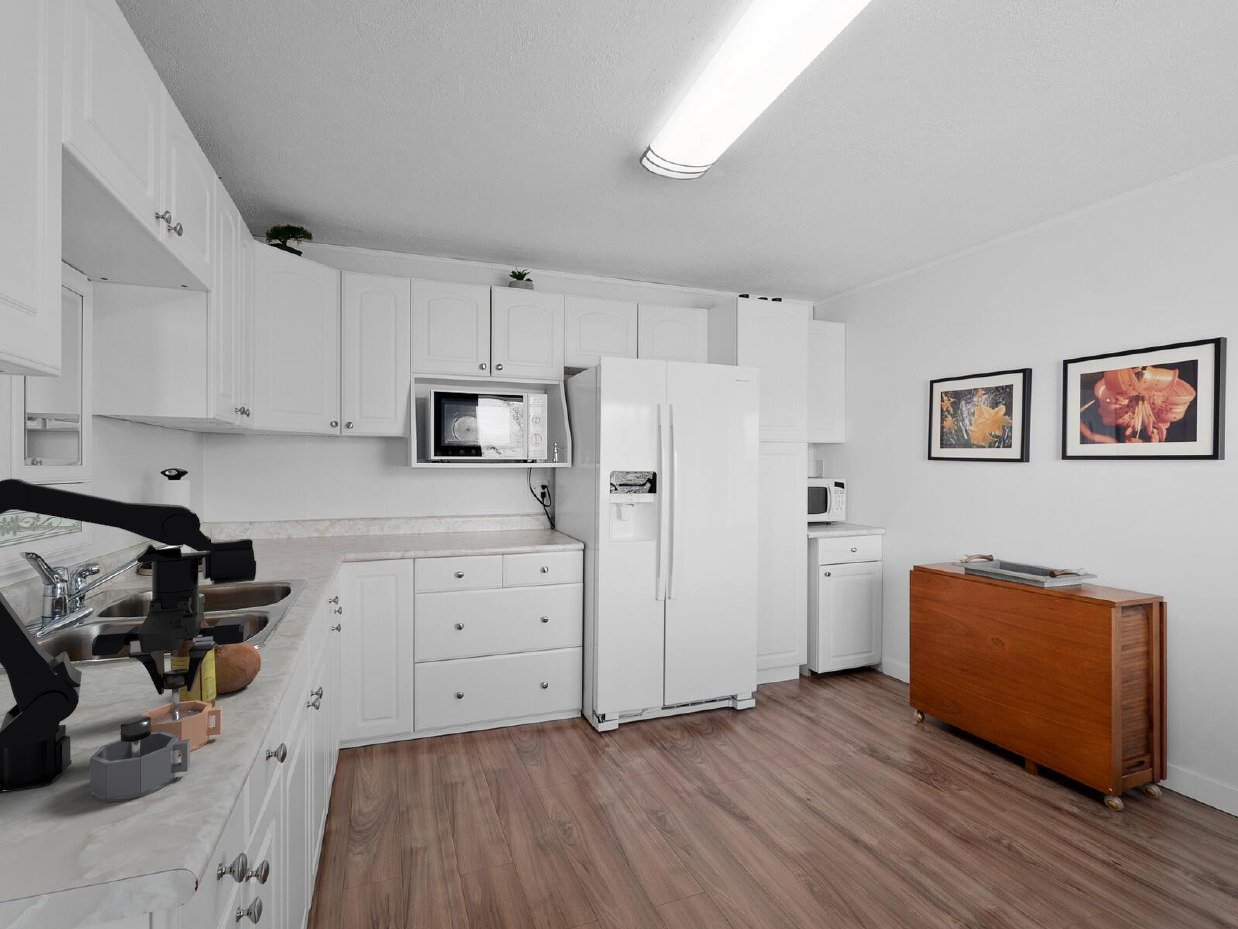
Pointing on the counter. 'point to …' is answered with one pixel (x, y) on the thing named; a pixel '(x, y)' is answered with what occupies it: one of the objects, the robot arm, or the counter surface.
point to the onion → (235, 666)
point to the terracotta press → (189, 722)
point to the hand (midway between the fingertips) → (175, 692)
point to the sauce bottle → (206, 676)
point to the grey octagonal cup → (137, 767)
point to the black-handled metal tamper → (175, 695)
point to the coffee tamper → (135, 732)
